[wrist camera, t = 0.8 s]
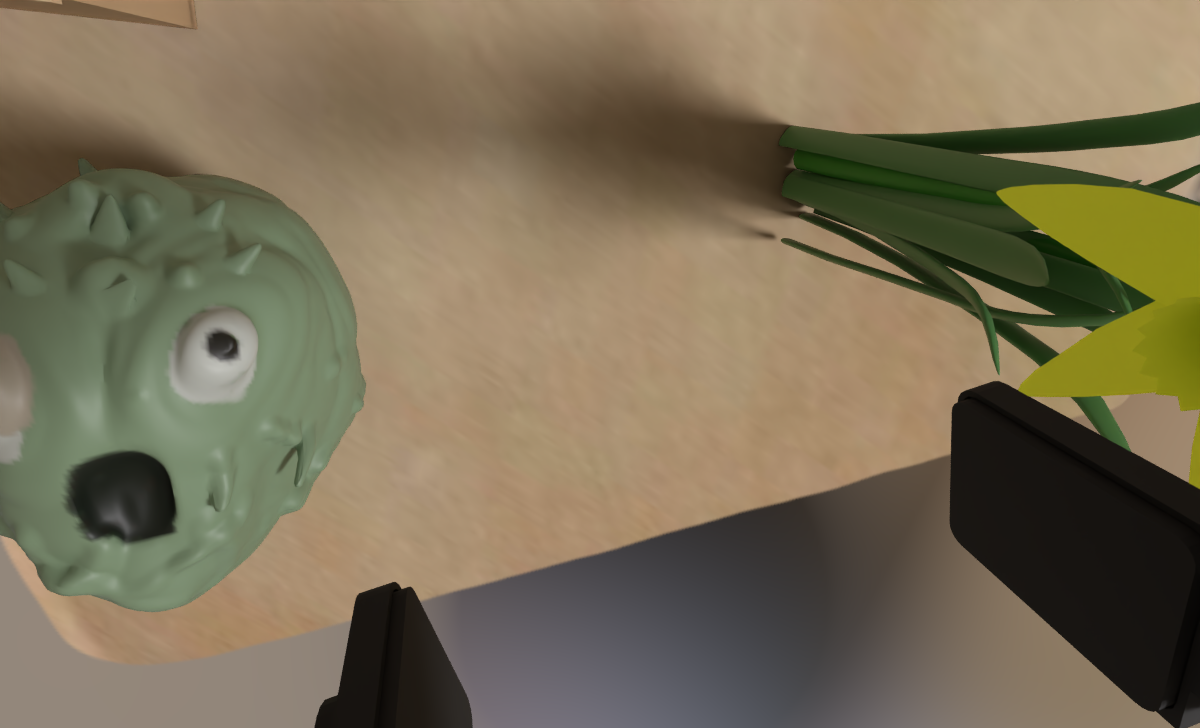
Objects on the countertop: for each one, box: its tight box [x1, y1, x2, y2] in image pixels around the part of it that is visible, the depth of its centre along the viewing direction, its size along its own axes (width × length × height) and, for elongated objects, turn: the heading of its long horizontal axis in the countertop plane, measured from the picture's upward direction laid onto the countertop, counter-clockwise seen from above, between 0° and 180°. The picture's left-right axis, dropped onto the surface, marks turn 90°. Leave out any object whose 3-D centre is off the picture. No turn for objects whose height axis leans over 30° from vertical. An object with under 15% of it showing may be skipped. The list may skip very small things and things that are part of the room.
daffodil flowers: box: [779, 102, 1200, 489], centre depth 25 cm, size 17×15×35 cm
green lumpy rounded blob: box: [0, 158, 366, 612], centre depth 28 cm, size 16×19×20 cm
